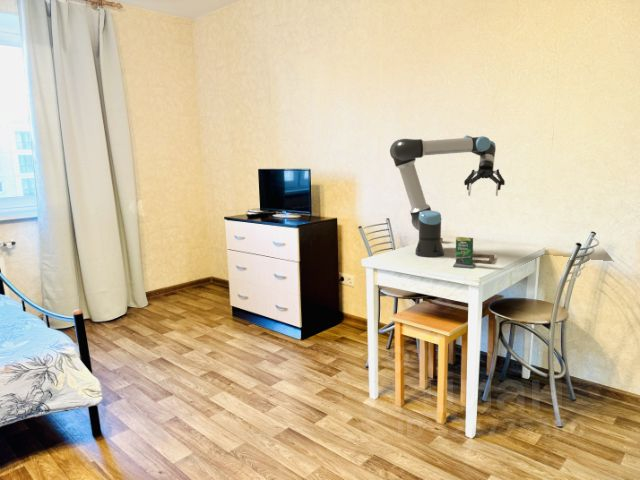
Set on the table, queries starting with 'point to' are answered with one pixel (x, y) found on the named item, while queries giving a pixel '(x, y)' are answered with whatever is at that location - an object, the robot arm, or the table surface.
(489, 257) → the brown flat square frame
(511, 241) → the table surface
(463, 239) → the coffee box
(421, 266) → the table surface
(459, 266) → the mat
